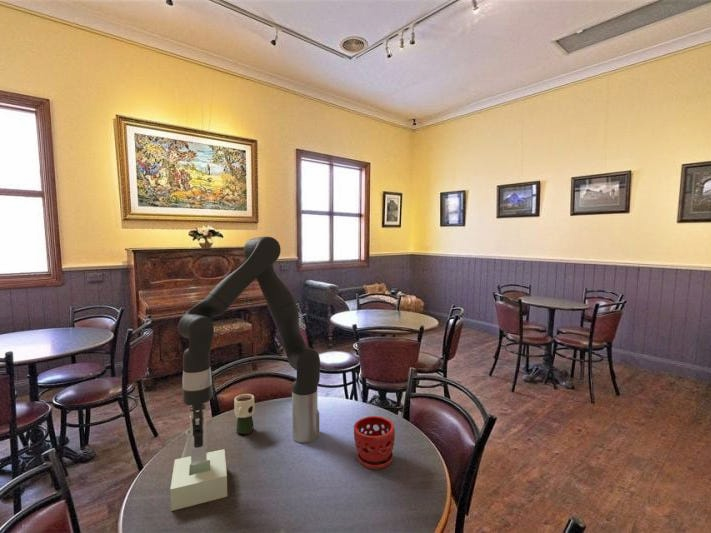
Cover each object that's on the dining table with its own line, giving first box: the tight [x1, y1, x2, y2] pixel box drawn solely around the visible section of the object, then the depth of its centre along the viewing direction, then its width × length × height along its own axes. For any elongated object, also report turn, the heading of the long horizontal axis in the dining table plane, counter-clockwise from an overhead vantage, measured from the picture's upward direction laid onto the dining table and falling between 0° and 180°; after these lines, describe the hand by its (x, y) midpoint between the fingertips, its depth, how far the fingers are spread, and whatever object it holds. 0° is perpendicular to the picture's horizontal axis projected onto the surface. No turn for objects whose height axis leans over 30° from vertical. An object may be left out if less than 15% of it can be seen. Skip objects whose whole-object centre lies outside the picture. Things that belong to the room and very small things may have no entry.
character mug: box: [233, 393, 256, 435], centre depth 134 cm, size 11×7×13 cm, turn 178°
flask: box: [180, 428, 191, 458], centre depth 116 cm, size 7×7×10 cm
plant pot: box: [353, 415, 396, 470], centre depth 115 cm, size 13×13×12 cm
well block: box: [169, 448, 228, 512], centre depth 103 cm, size 14×14×6 cm
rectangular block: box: [189, 410, 208, 465], centre depth 102 cm, size 4×4×14 cm
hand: (198, 442), depth 102 cm, fingers closed on rectangular block, 4 cm apart
